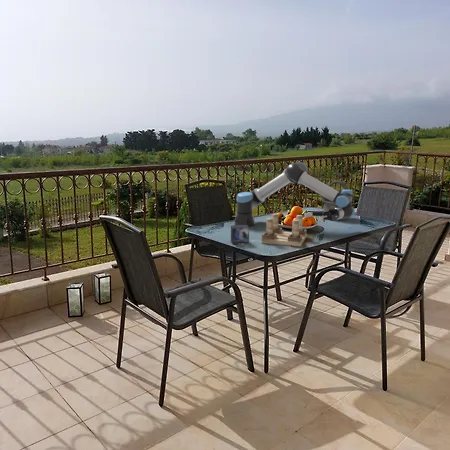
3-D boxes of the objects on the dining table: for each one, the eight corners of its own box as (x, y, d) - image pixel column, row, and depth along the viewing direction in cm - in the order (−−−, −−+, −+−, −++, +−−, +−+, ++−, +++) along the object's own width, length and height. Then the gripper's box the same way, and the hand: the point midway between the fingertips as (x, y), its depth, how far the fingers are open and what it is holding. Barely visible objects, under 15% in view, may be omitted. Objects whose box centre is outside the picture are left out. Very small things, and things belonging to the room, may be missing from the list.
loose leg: (296, 233, 261) (296, 215, 258) (302, 233, 259) (303, 215, 257) (295, 234, 257) (296, 216, 254) (302, 234, 256) (302, 216, 253)
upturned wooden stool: (270, 234, 269) (270, 212, 266) (306, 236, 261) (307, 215, 258) (261, 242, 247) (261, 219, 244) (300, 246, 239) (301, 222, 236)
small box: (232, 244, 244) (232, 227, 242) (230, 241, 250) (230, 225, 248) (249, 243, 246) (249, 226, 244) (246, 240, 252) (246, 224, 250)
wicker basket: (338, 222, 304) (340, 182, 297) (314, 217, 322) (316, 180, 316) (356, 218, 317) (358, 180, 310) (332, 214, 335) (334, 178, 328)
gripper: (349, 222, 262) (325, 226, 251) (321, 216, 283) (298, 219, 272) (350, 211, 260) (325, 214, 249) (322, 205, 281) (299, 208, 270)
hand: (311, 217), depth 261 cm, fingers open, 13 cm apart
